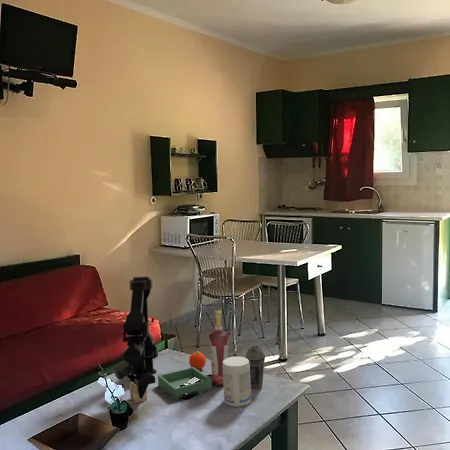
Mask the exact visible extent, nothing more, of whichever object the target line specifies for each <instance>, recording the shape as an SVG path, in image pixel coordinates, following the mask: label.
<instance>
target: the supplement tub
mask: <svg viewBox="0 0 450 450" xmlns="http://www.w3.org/2000/svg"><path fill="white" fill-rule="evenodd" d="M222 366H223V385H222V386H223V401H224V403H225V404H227V405H228V406H230V407H233V408H234V407H236V408H237V407H243V406H247V405H248V404H249V403H251V401H252V389H251V381H250V364H249V360H248V359H247V358H245V357H244V356H230V357H229V356H228V358H226V359H225V360H223V365H222Z"/></svg>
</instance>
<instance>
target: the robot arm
mask: <svg viewBox="0 0 450 450" xmlns="http://www.w3.org/2000/svg"><path fill="white" fill-rule="evenodd" d="M152 289H153V279H152V278H150V276H133V279H130V280H129V290H130V291H131V300H130V301H131V302H130V311H129V313H128V314H127V315H126V318H125V322H124V323H123V328H122V329H123V330H122V331H123V333H122V342H123V343H127V346H126V348H125V351H124V353H123V360H124V361H123V362H120V363H119V364H117V365H116V366H114V367H113V368H112V372H113V374H114V376H115V377H116V379H117V380H118V381H119V380H120V381H121V380H123V379H124V378H128V379H129V380H130V381H129V382H133V381H134V382H133V383H134V384H135V385H137V389H138V394H139V398H143V396H144V394H145V391H146V389H148V387H149V385H152V384H155V383H156V377H155V375H154V374H155V373H157V370H156V369H155V368H154V360H155V359H157V358H158V357H159V355H158V354H159V353H158V347H157V346H156V345H157V344H156V343H154V341H155V340H154V337H153V336H152V334H151V333H150V323H149V322H150V321H149V303H148V302H149V300H148V298H149V297H150V295H151V292H152Z"/></svg>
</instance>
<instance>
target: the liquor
mask: <svg viewBox="0 0 450 450" xmlns="http://www.w3.org/2000/svg"><path fill="white" fill-rule="evenodd" d="M213 313H214V314H213V315H214V331H212V332H211V333H209V335H208V341H209V351H210V362H211V363H210V364H211V379H212V384H214V385H215V386H223V366H222V365H223V360H225V359H226V358H229V333H228V332H226V331H224V330H223V325H222V316H223V315H222V310H214V312H213Z"/></svg>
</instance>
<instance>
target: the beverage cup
mask: <svg viewBox="0 0 450 450" xmlns="http://www.w3.org/2000/svg"><path fill="white" fill-rule="evenodd" d="M244 358H247V359H248V360H249V364H250V381H251V390H253V391H259V390H261V389H262V388H263V384H264V383H263V381H264V365H265V359H266V356H265V352H264V350H263V348H261V347H260V346H258V345H257V343H256V336H255V335H254V336H253V346H251V347H250V348H249V347H248V349H247V350H246V353H245V357H244Z"/></svg>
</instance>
